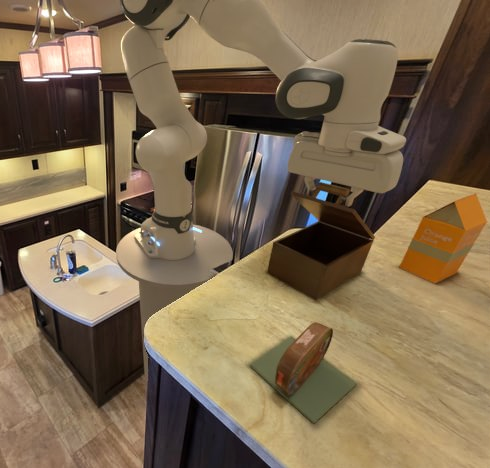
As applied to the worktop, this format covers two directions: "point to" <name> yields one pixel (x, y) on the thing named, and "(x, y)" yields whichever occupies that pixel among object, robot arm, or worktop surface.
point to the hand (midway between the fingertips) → (327, 200)
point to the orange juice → (444, 239)
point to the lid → (334, 210)
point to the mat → (307, 383)
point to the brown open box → (318, 258)
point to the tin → (303, 357)
